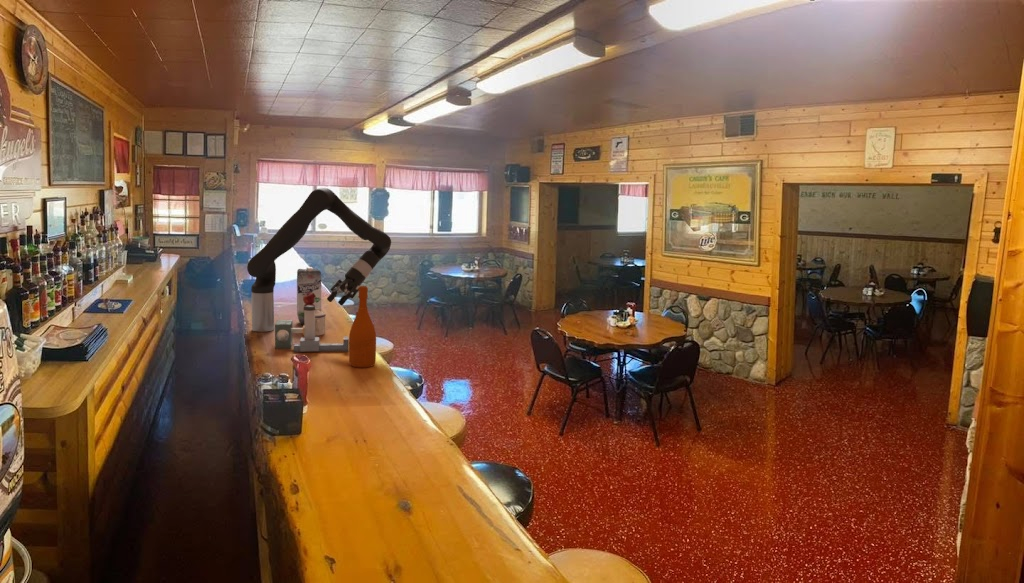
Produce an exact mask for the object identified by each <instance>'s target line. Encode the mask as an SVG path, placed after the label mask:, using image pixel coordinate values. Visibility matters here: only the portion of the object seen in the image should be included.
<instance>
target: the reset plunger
mask: <svg viewBox="0 0 1024 583" xmlns="http://www.w3.org/2000/svg"><path fill="white" fill-rule="evenodd" d="M291 333H292V334H302V336H305V328H304V325H302V327H292V328H291Z"/></svg>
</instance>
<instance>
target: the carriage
mask: <svg viewBox="0 0 1024 583" xmlns="http://www.w3.org/2000/svg"><path fill="white" fill-rule="evenodd" d="M304 328H305V335H304V336H303V337H300V340H299V344H300V351H319V344H320V337H319V336H315V306H304Z"/></svg>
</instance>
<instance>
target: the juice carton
mask: <svg viewBox="0 0 1024 583" xmlns="http://www.w3.org/2000/svg"><path fill="white" fill-rule="evenodd" d="M296 274H297V275H296V315H297V320H298V322H299V324H300V325H301V326H303V325H304V306H315V308H317V310H319V311H321V312H322V272H321V270H319V269H318V268H313V267H312V266H308V267H306V268H298V269H297V271H296Z"/></svg>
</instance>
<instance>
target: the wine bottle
mask: <svg viewBox="0 0 1024 583" xmlns="http://www.w3.org/2000/svg"><path fill="white" fill-rule="evenodd" d="M368 288H369V287H367V286H366V285H360V287H359V291H358V299H359V303H358V309H357V311H356V313H355V318H354V320H353V322H352V325H351V328H350V330H349V336H348V337H349V352H348V359H349V362H348V363H349V364H350V366H352V367H354V368H359V369H360V368H361V369H362V368H370V367H372V366H374V365H375V364H376V358H377V356H376V354H377V333H376V328H375V325H374V324H373V320H372V319H371V316H370V314H369V310H368V305H367V304H368V303H367V302H368V297H369V296H368V290H369V289H368Z"/></svg>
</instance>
